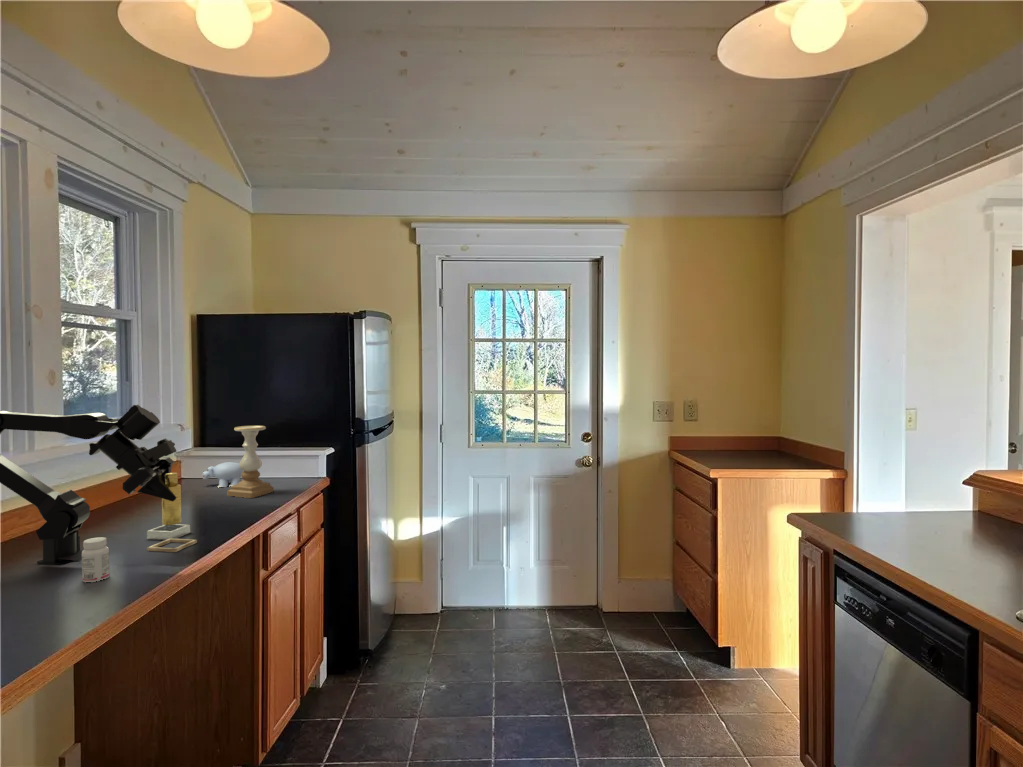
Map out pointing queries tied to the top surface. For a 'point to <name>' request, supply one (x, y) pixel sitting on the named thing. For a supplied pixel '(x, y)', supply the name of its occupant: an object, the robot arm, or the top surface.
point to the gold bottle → (172, 508)
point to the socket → (168, 532)
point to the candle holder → (250, 467)
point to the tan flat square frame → (158, 548)
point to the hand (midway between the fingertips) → (177, 497)
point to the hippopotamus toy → (224, 473)
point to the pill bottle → (95, 560)
